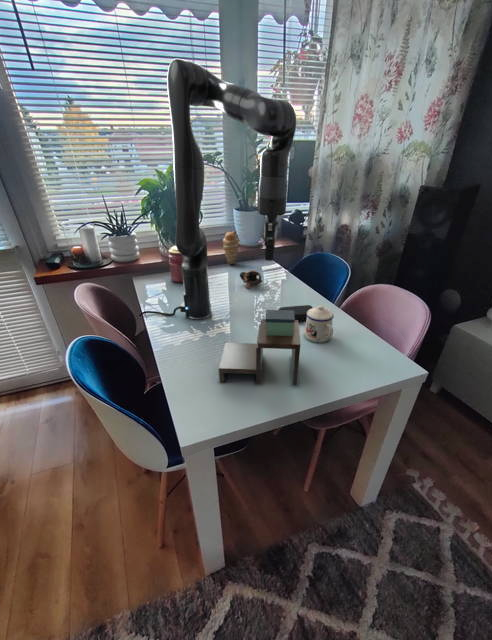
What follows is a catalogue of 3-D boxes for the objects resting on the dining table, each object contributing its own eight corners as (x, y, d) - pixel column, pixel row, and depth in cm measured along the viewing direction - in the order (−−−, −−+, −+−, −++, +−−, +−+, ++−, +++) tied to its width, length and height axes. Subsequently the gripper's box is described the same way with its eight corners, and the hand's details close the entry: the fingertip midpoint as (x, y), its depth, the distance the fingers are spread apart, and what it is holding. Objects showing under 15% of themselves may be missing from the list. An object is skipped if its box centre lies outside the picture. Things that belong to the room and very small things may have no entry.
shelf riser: (219, 382, 93) (216, 342, 85) (226, 355, 104) (224, 318, 97) (296, 385, 91) (300, 344, 84) (295, 358, 103) (298, 320, 95)
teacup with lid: (299, 333, 116) (302, 303, 110) (320, 328, 119) (324, 298, 113) (318, 349, 107) (322, 317, 101) (340, 343, 110) (346, 312, 104)
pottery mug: (265, 284, 158) (266, 272, 151) (256, 298, 155) (256, 287, 147) (243, 274, 161) (243, 263, 153) (234, 288, 157) (233, 277, 150)
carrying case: (282, 325, 121) (320, 322, 124) (283, 318, 120) (321, 314, 122) (276, 313, 130) (311, 310, 132) (276, 306, 128) (312, 303, 131)
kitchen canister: (176, 273, 170) (171, 238, 160) (200, 274, 169) (196, 239, 159) (167, 282, 159) (161, 245, 150) (192, 283, 158) (188, 246, 148)
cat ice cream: (240, 262, 185) (239, 229, 175) (237, 266, 179) (236, 232, 169) (225, 261, 187) (223, 228, 177) (222, 265, 180) (219, 231, 170)
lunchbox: (265, 335, 88) (265, 318, 85) (265, 325, 93) (266, 309, 90) (293, 336, 87) (294, 319, 85) (292, 326, 92) (294, 310, 89)
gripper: (260, 191, 93) (259, 248, 102) (256, 198, 81) (255, 262, 90) (287, 192, 92) (283, 249, 102) (286, 199, 81) (282, 264, 90)
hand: (269, 255), depth 96 cm, fingers open, 8 cm apart
